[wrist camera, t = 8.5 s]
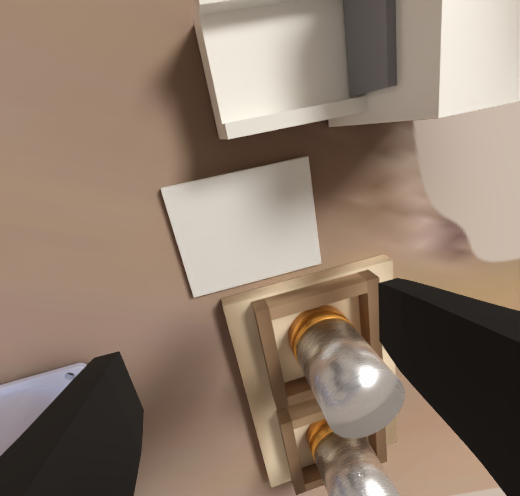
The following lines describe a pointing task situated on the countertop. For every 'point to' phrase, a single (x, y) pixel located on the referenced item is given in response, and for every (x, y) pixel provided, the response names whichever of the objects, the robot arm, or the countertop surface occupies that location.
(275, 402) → the seat board
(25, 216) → the countertop surface
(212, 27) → the feeder
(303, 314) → the sleeve
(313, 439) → the sleeve
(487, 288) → the countertop surface
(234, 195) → the mat
